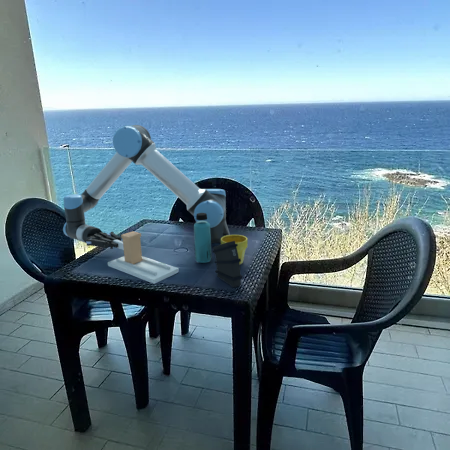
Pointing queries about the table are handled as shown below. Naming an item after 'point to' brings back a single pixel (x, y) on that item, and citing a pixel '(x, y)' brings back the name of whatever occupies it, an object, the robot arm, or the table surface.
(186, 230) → the table surface
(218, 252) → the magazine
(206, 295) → the table surface
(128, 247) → the switch tab
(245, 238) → the plant pot
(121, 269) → the switch panel
